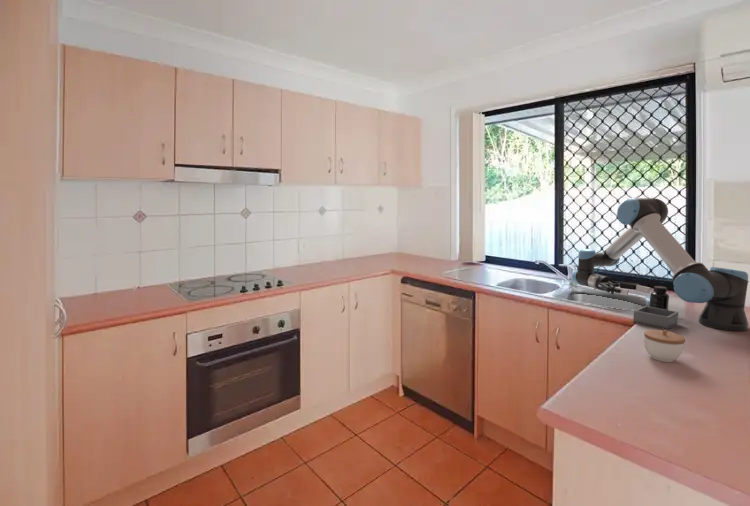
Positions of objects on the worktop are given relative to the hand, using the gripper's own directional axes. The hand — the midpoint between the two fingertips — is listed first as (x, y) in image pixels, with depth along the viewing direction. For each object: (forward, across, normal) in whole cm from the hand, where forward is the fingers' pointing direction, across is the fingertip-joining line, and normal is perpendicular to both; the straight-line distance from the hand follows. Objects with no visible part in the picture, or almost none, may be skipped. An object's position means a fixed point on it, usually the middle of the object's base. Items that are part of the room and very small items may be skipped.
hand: (638, 291), depth 188 cm
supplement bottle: (+10, 0, -8) cm, 13 cm away
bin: (+19, +15, -8) cm, 25 cm away
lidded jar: (+46, +47, -8) cm, 67 cm away
